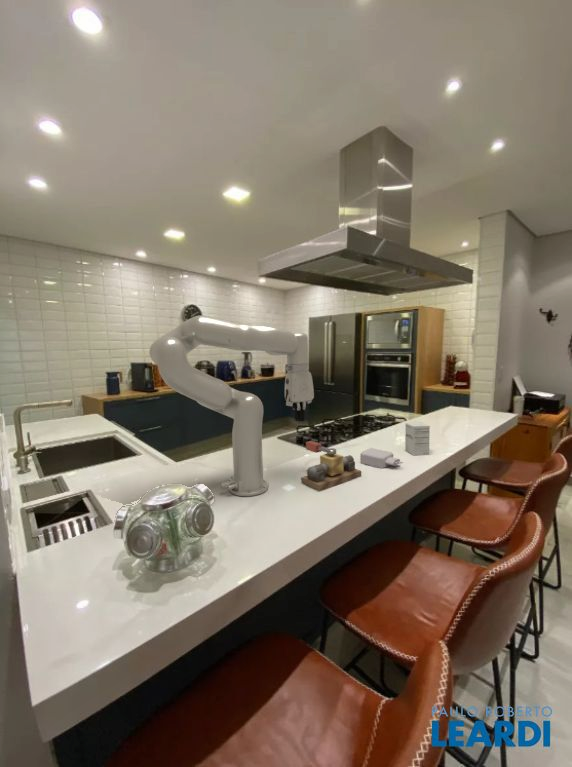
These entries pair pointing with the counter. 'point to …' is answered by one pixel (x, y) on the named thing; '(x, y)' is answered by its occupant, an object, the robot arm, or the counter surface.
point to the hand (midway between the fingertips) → (299, 420)
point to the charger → (378, 458)
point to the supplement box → (417, 438)
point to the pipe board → (331, 480)
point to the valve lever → (318, 448)
